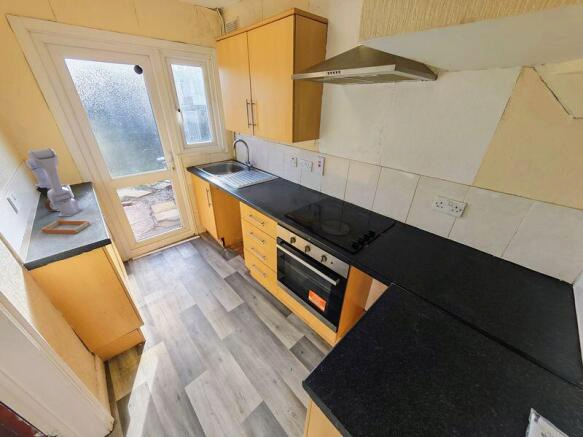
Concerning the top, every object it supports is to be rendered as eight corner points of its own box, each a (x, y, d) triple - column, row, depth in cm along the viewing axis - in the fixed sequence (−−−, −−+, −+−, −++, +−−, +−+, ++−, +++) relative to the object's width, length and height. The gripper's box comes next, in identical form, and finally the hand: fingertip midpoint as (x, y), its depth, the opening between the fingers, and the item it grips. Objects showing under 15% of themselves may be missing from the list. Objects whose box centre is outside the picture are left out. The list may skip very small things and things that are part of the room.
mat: (59, 205, 159) (59, 205, 159) (70, 205, 159) (70, 205, 159) (48, 210, 152) (48, 210, 152) (60, 211, 152) (60, 210, 152)
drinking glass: (76, 195, 174) (70, 183, 169) (71, 199, 169) (65, 186, 164) (66, 196, 173) (60, 184, 168) (61, 200, 167) (54, 187, 162)
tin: (67, 202, 162) (62, 192, 158) (72, 202, 162) (66, 192, 158) (48, 212, 149) (41, 201, 145) (53, 212, 149) (46, 201, 145)
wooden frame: (59, 223, 138) (57, 220, 137) (90, 224, 138) (88, 221, 137) (43, 232, 129) (40, 229, 128) (75, 233, 129) (73, 230, 128)
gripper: (25, 180, 142) (37, 199, 148) (48, 180, 142) (59, 199, 148) (36, 176, 148) (47, 195, 154) (58, 176, 148) (68, 195, 154)
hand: (53, 197), depth 152 cm, fingers open, 7 cm apart
